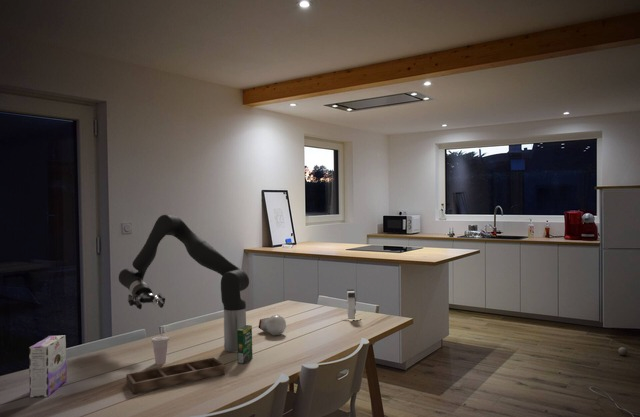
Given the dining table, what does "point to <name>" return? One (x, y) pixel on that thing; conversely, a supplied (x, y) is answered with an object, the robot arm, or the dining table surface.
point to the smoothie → (160, 348)
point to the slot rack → (174, 375)
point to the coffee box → (244, 344)
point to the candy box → (47, 365)
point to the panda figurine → (351, 303)
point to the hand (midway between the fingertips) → (151, 306)
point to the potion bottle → (273, 325)
